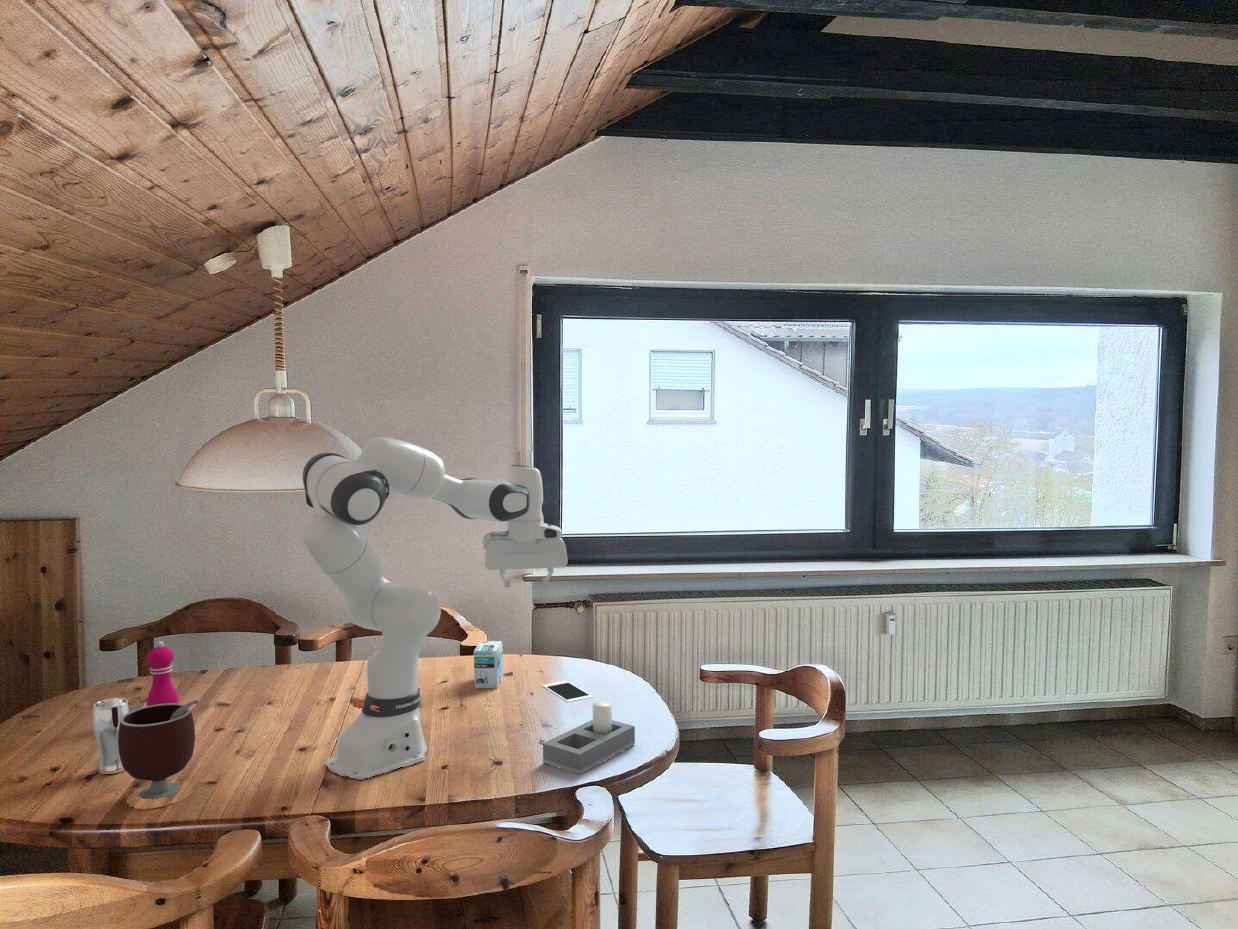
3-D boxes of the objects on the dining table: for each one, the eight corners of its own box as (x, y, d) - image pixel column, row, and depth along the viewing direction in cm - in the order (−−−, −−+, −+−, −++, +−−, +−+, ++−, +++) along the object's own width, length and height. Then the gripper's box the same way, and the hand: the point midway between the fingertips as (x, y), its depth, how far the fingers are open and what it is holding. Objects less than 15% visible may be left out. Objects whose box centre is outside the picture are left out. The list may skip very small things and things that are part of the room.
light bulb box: (498, 689, 246) (497, 650, 246) (473, 689, 247) (472, 651, 246) (503, 677, 257) (503, 640, 256) (480, 677, 257) (479, 640, 256)
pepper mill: (151, 725, 221) (147, 646, 220) (144, 718, 227) (140, 641, 225) (183, 718, 226) (179, 641, 224) (174, 711, 231) (171, 635, 230)
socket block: (580, 775, 189) (579, 754, 189) (543, 763, 196) (542, 743, 195) (634, 745, 205) (634, 726, 205) (599, 735, 212) (598, 716, 211)
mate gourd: (106, 812, 175) (101, 712, 173) (144, 781, 189) (139, 689, 187) (185, 811, 175) (180, 711, 173) (217, 780, 189) (212, 688, 187)
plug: (604, 748, 201) (603, 709, 201) (589, 743, 204) (588, 705, 203) (616, 742, 205) (615, 703, 204) (601, 737, 207) (600, 700, 207)
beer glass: (108, 763, 199) (104, 697, 197) (139, 763, 198) (135, 697, 197) (88, 776, 192) (85, 708, 190) (120, 776, 191) (116, 708, 190)
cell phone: (566, 682, 253) (566, 680, 253) (593, 698, 239) (593, 696, 239) (541, 687, 249) (541, 685, 249) (568, 704, 235) (567, 701, 235)
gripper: (482, 534, 213) (483, 591, 214) (567, 531, 216) (568, 587, 217) (482, 530, 219) (484, 585, 220) (565, 527, 222) (566, 582, 223)
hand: (526, 586), depth 219 cm, fingers open, 8 cm apart
